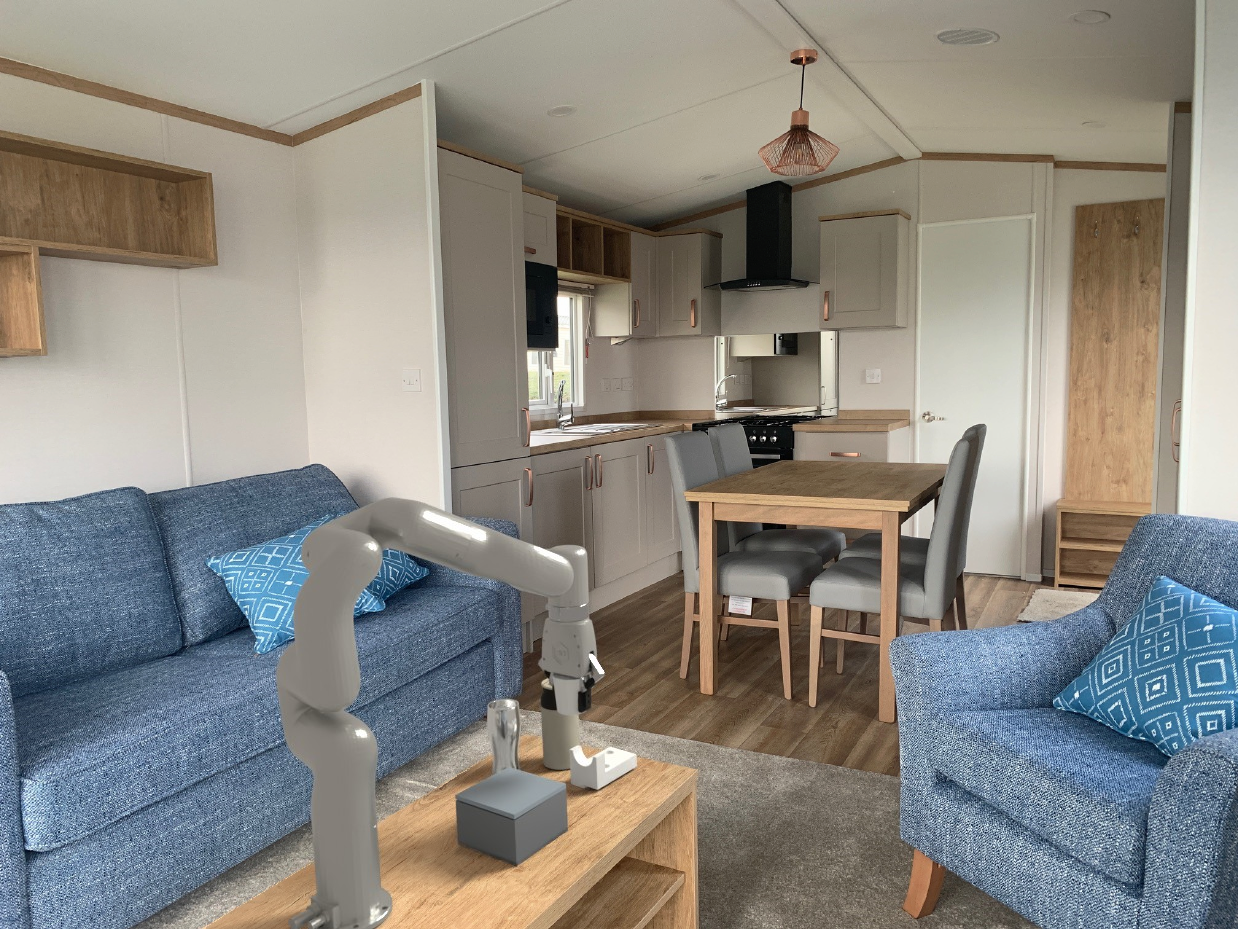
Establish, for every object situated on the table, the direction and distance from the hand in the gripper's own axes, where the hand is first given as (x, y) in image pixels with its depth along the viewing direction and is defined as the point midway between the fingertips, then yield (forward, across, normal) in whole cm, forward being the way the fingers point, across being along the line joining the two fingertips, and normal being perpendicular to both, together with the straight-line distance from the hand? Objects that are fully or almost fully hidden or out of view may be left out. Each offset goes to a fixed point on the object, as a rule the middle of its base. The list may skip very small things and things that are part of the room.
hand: (571, 706), depth 163 cm
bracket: (+21, -5, +16) cm, 27 cm away
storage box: (+21, -4, -12) cm, 25 cm away
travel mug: (+21, -16, +16) cm, 31 cm away
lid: (+13, -4, -13) cm, 19 cm away
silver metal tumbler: (+21, -24, +6) cm, 32 cm away
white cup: (+1, 0, 0) cm, 1 cm away
